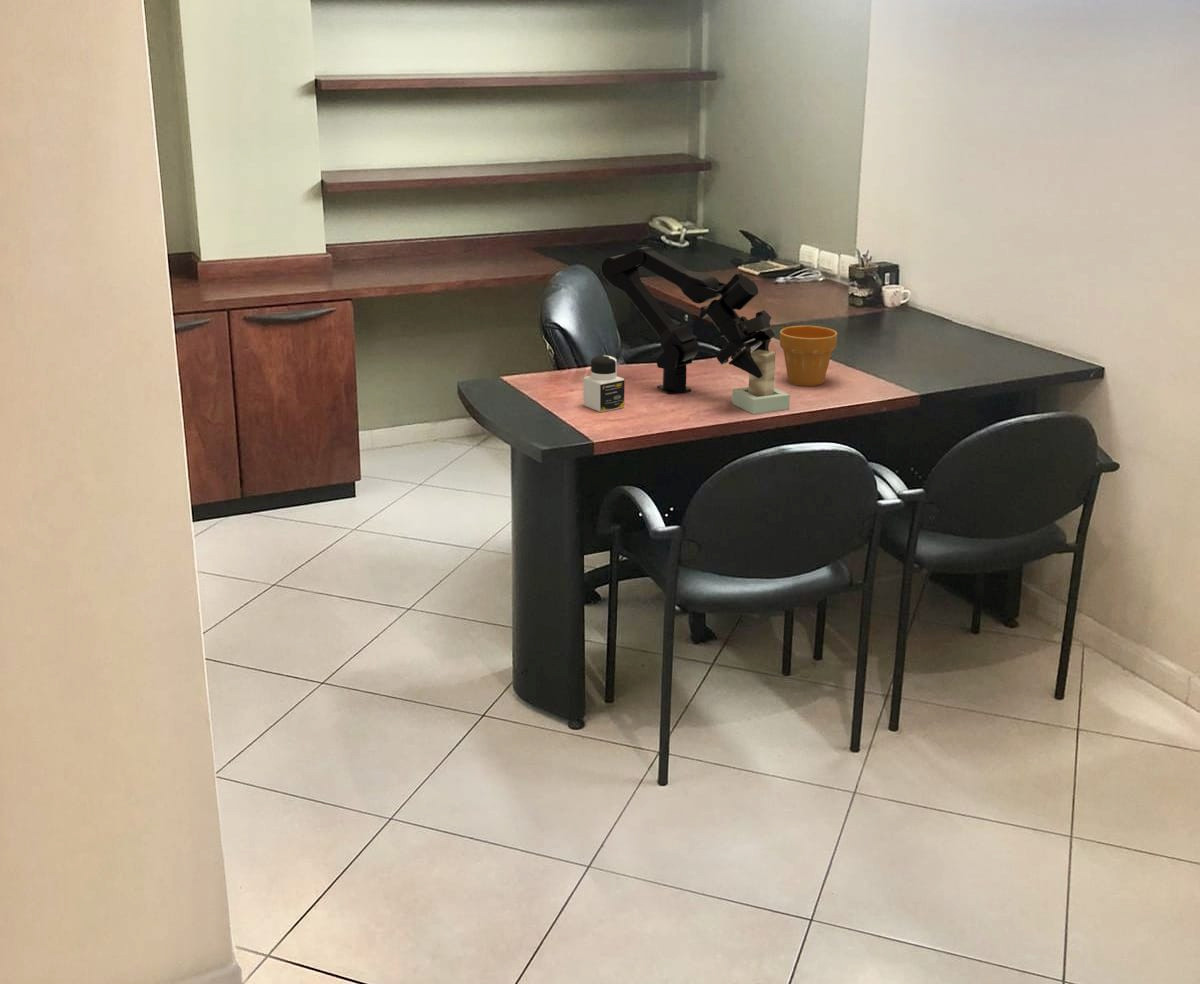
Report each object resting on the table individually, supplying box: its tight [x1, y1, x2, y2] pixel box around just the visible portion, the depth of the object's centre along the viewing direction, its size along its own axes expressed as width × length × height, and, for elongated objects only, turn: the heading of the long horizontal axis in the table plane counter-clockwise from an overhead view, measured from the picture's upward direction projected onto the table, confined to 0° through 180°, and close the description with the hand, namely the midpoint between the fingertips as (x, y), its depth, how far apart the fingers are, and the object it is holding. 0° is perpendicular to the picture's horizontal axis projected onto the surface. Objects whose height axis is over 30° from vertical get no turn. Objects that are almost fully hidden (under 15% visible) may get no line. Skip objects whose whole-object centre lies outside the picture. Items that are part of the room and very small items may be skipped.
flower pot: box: [779, 325, 838, 387], centre depth 309 cm, size 14×14×13 cm
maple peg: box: [748, 350, 776, 397], centre depth 289 cm, size 4×4×13 cm
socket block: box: [731, 386, 791, 415], centre depth 290 cm, size 10×10×4 cm
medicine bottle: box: [582, 355, 625, 413], centre depth 288 cm, size 7×7×12 cm
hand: (767, 374), depth 287 cm, fingers open, 6 cm apart
